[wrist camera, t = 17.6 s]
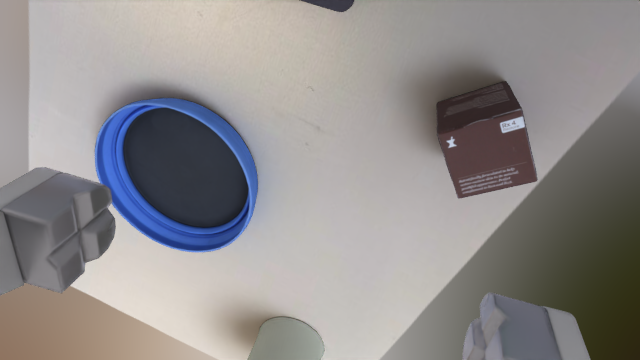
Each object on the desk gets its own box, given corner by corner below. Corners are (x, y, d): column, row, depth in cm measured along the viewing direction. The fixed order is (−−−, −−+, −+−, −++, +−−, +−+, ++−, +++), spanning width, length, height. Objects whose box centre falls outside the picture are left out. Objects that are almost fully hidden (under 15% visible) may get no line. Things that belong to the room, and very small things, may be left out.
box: (452, 159, 40) (455, 200, 34) (435, 100, 38) (434, 133, 32) (523, 142, 38) (539, 182, 32) (508, 78, 36) (523, 108, 29)
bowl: (102, 78, 45) (78, 88, 42) (266, 107, 42) (253, 120, 39) (126, 217, 54) (107, 234, 51) (261, 249, 51) (250, 269, 48)
